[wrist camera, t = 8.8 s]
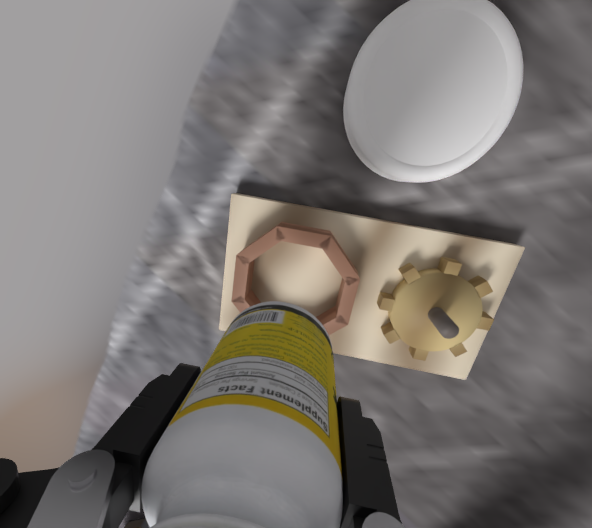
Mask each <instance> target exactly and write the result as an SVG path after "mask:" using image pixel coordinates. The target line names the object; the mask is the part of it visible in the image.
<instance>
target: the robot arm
mask: <svg viewBox="0 0 592 528" xmlns="http://www.w3.org/2000/svg"><path fill="white" fill-rule="evenodd" d="M200 372H201V369H200V367H198V366H193V365H188V364H183V363H180V364H179V365H178V366H177V367H176V369H175V370H174V371H173V372H172V374H171V375H170V376H168V375H164V374H162V375H160V376H159V377H157V378H156V379H154V380H152V381H151V382H149V383H148V384H147V386H146V387H145V388H144V389H143V390H142V391H141V393H140V394H139V396H138V397H136V399H135V400H134V401H133V402H132V403H131V405H130V407H128V408H127V409H126V410H125V411H124V413H123V414H122V415H121V416H120V417H119V419H118V420H117V421H116V422H115V423H114V424H113V426H112V427H111V428H110V429H109V430H108V432H107V433H106V434H105V435H104V436H103V437H102V439H101V440H100V441H99V442H98V443H97V445H96V446H95V447H94V448H93V449H92V450H89V451H85V452H82V453H80V454H78V455H76V456H74V457H72V458H71V459H69V460H68V461H66V462H65V463H64V464H63V465H62V466H61V467H59V468H55V469H48V470H40V471H32V472H23V473H18V470H17V466H16V464H15V462H13V461H12V460H9V459H5V458H0V528H118V527H119V525H120V524H121V522H122V520H123V518H124V517H125V515H126V513H127V512H128V510H131V511H136V512H141V510H142V508H143V505H142V497H141V495H142V479H143V475H144V471H145V468H146V465H147V462H148V460H149V458H150V456H151V454H152V452H153V450H154V448H155V446H156V445H157V443H158V441H159V440H160V438H161V436H162V435H163V433H164V432H165V430H166V428H167V427H168V425H169V423H170V422H171V420H172V419H173V417H174V415H175V414H176V412H177V410H178V409H179V407H180V406H181V404H182V402H183V401H184V399H185V397H186V396H187V394H188V393H189V391H190V389H191V388H192V386H193V384H194V383H195V381H196V379H197V378H198V376H199V374H200ZM337 414H338V428H339V442H340V454H341V466H342V478H343V511H342V518H341V523H340V527H339V528H405V527H404V526H403V525H402V522H401V520H400V517H399V513H398V509H397V504H396V500H395V495H394V491H393V486H392V482H391V477H390V473H389V468H388V464H387V463H386V461H387V460H386V455H385V451H384V446H383V442H382V437H381V433H380V431H379V429H378V428H377V426H376V425H375V423H374V421H373V420H372V419H370V418H365V417H362V412H361V406H360V402H359V400H354V399H349V398H344V397H339V398H338V401H337Z"/></svg>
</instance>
